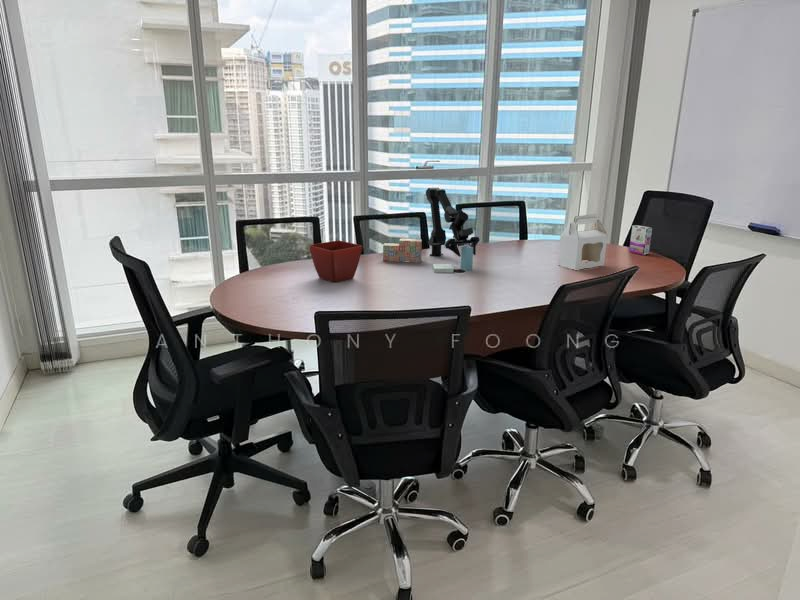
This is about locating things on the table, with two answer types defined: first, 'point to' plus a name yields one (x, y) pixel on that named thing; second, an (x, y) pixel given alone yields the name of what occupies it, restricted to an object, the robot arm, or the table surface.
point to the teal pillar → (466, 257)
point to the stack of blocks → (403, 250)
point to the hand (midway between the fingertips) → (467, 255)
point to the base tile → (442, 268)
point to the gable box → (589, 239)
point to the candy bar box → (640, 239)
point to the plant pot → (335, 260)
